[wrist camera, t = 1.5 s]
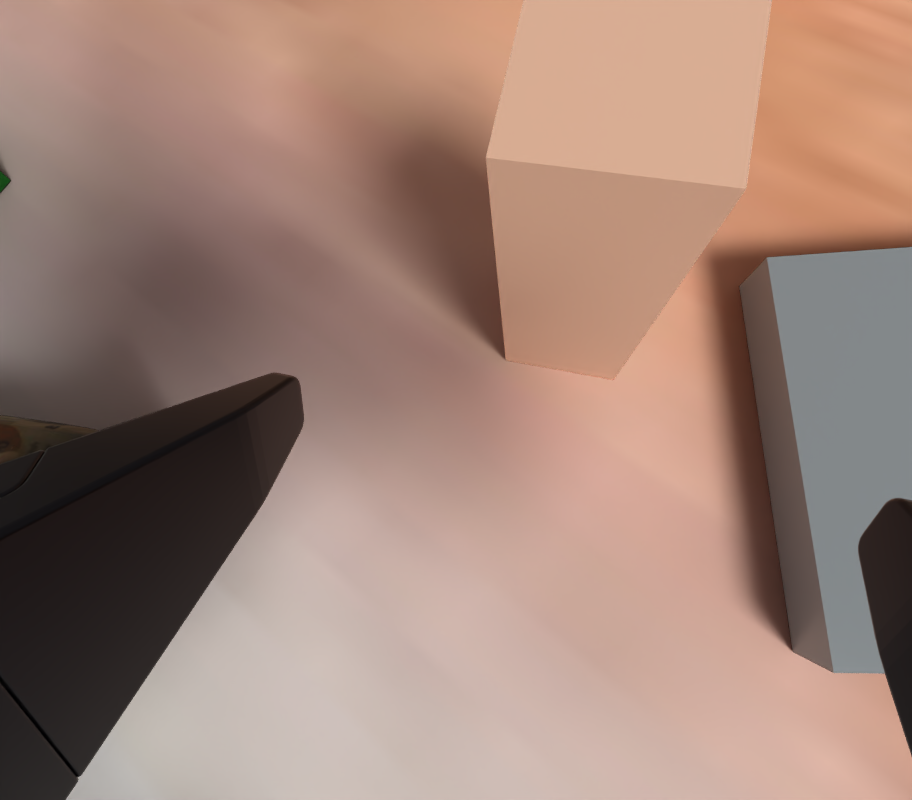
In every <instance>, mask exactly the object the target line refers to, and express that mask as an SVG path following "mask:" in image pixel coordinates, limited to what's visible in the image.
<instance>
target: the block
mask: <svg viewBox="0 0 912 800" xmlns="http://www.w3.org/2000/svg"><path fill="white" fill-rule="evenodd" d="M771 3H772V0H524V1H523V5H522V9H521V13H520V17H519V21H518V25H517V30H516V34H515V38H514V42H513V46H512V50H511V55H510V59H509V63H508V67H507V71H506V75H505V79H504V84H503V88H502V92H501V96H500V100H499V104H498V108H497V113H496V117H495V121H494V125H493V129H492V133H491V138H490V142H489V146H488V150H487V154H486V166H487V176H488V186H489V196H490V206H491V216H492V226H493V237H494V247H495V257H496V267H497V277H498V287H499V297H500V307H501V317H502V327H503V337H504V347H505V358H506V360H507V361H512V362H518V363H523V364H529V365H534V366H540V367H545V368H550V369H556V370H561V371H567V372H572V373H578V374H583V375H589V376H594V377H600V378H605V379H611V380H614V379H615V377H616V376H617V374H618V373H619V372H620V370H621V369H622V367H623V366H624V364H625V363H626V362H627V360H628V359H629V357H630V356H631V354H632V353H633V351H634V350H635V349H636V347H637V346H638V344H639V343H640V341H641V340H642V338H643V337H644V336H645V334H646V333H647V331H648V330H649V328H650V327H651V325H652V324H653V323H654V321H655V320H656V318H657V317H658V315H659V314H660V313H661V311H662V310H663V308H664V307H665V305H666V304H667V302H668V301H669V300H670V298H671V297H672V295H673V294H674V292H675V291H676V289H677V288H678V287H679V285H680V284H681V282H682V281H683V279H684V278H685V276H686V275H687V274H688V272H689V271H690V269H691V268H692V266H693V265H694V264H695V262H696V261H697V259H698V258H699V256H700V255H701V253H702V252H703V251H704V249H705V248H706V246H707V245H708V243H709V242H710V240H711V239H712V238H713V236H714V235H715V233H716V232H717V230H718V229H719V227H720V226H721V225H722V223H723V222H724V220H725V219H726V217H727V216H728V215H729V213H730V212H731V210H732V209H733V207H734V206H735V204H736V203H737V202H738V200H739V199H740V197H741V196H742V194H743V193H744V191H745V190H746V188H747V180H748V173H749V165H750V158H751V151H752V143H753V136H754V129H755V121H756V114H757V107H758V99H759V92H760V84H761V77H762V70H763V62H764V55H765V48H766V40H767V33H768V25H769V18H770V11H771Z"/></svg>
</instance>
